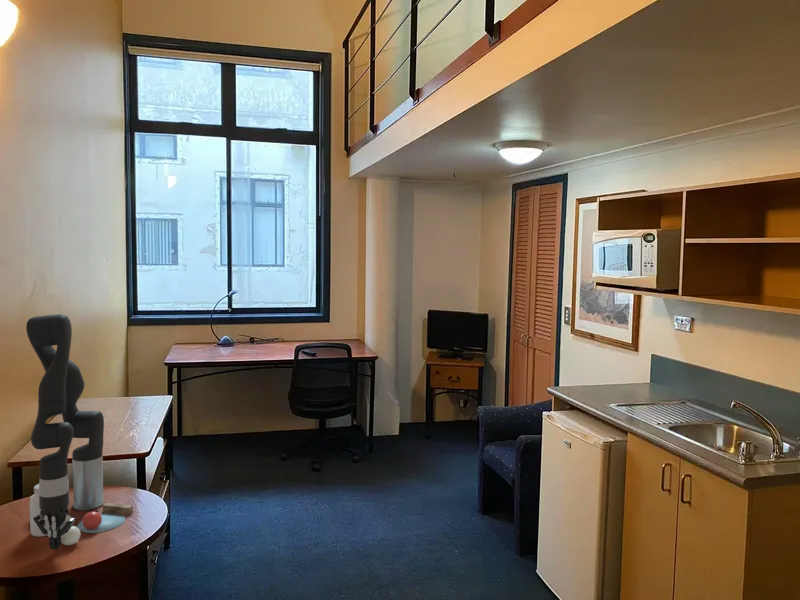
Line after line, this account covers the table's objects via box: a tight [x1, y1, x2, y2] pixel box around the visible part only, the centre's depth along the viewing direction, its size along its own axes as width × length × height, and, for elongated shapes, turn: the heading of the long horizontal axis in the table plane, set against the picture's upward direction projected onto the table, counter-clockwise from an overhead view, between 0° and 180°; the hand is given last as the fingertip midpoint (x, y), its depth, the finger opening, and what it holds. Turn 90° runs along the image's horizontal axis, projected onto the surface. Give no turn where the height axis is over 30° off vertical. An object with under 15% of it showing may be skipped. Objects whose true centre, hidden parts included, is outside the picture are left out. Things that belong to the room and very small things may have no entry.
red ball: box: [81, 511, 102, 530], centre depth 189 cm, size 6×6×6 cm
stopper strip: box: [102, 502, 134, 516], centre depth 202 cm, size 10×2×2 cm, turn 79°
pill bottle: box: [29, 483, 48, 537], centre depth 187 cm, size 8×8×15 cm
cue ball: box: [61, 525, 82, 546], centre depth 179 cm, size 6×6×6 cm
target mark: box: [77, 512, 126, 534], centre depth 194 cm, size 14×14×1 cm
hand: (55, 548), depth 174 cm, fingers closed
